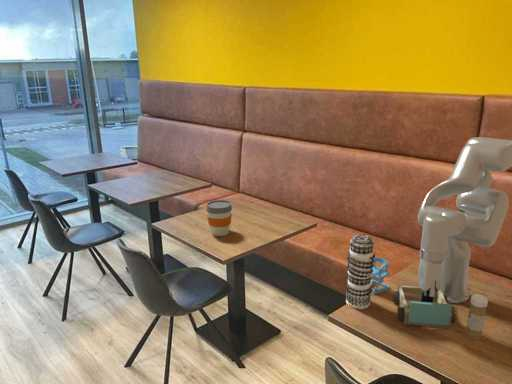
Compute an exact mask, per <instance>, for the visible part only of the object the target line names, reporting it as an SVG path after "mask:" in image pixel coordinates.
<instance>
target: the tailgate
mask: <svg viewBox="0 0 512 384" xmlns="http://www.w3.org/2000/svg"><path fill="white" fill-rule="evenodd" d="M451 311H452V303H447V304H441V303H428V302H415V301H410V310H409V319H408V320H407V321H406V323H407V324H410V326H418V325H421V326H420V327H430V326H433V327H432V328H442V327H445V328H446V329H451V326H450V324H449V321H450V314H451ZM407 324H406V325H407ZM445 328H444V329H445Z"/></svg>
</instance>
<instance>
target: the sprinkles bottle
mask: <svg viewBox="0 0 512 384" xmlns="http://www.w3.org/2000/svg"><path fill="white" fill-rule="evenodd" d="M469 302H470V307H469V311H468V317H467V323H466V328H465V329H466V330H465V336H467V338H469V339H470V340H471V339H472V340H476V341H478V340H481V339H482V337H483V336H482V335H483V329H484V324H485V318H486V312H487V311H486V310H487V307H488V303H489V300H488V298H487V297H486V296H484V295H482V294H477V293H476V294H473V295H471V297H470V301H469Z"/></svg>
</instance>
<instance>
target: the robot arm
mask: <svg viewBox="0 0 512 384" xmlns="http://www.w3.org/2000/svg"><path fill="white" fill-rule="evenodd" d="M511 167H512V140H511V139H503V138H493V137H484V136H483V137H482V136H477V137H471V138H469V139H468V140H467V141H466V144H465V145H464V146H463V147H462V148H461V151H460V154H459V155H458V158H457V160H456V162H455V164H454V166H453V169H452V171H451V173H450V176H449V178H447V179H446V180H444V181H442V182H440V183H439V184H437V185H435V186H434V187H433V188H432V189H430V190H429V192H427V194H426V195H425V197H424V198H423V201H422V204H421V205H420V208H419V211H418V214H417V221H418V224H419V225H420V226H421V227H422V234H421V240H420V249H419V250H420V251H419V258H420V260H419V264H418V271H417V281H418V283H419V287H421V289H422V292H424V293H422V296H421V302H428V303H433V297H434V292H435V290H436V292H438V291H439V288H440V290H441V292H442V294H443V295H446V296H447V300H448V303H449V304H463V303H466V302H467V301H468V300H469V299H470V293H469V291H468V290H467V289H466V286H467V279H468V273H469V267H470V261H471V260H470V259H471V255H472V252H471V248H470V246H469V243H471V244H473V245H477V246H481V247H484V248H485V247H492V246H493V245H495V244H496V243H495V242H496V241H497V238H499V237H498V236H499V234H500V231H501V228H502V227H503V223H504V221H505V218H506V215H507V213H508V209H509V204H510V200H509V199H510V198H509V196H508V194H507V193H506V192H504V191H502V190H499V189H494V188H490V187H491V184H492V183H493V175H492V173H491V172H496V173H503V172H506V171H508V170H509V169H510V168H511ZM451 196H456V198H455V199H456V200H455V206H456V207H457V209H459V210H453V209H450V208H445V207H441V206H436V204H437V203H438V202H439V201H441V200H444V199H445V198H447V197H451Z"/></svg>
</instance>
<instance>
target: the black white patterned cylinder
mask: <svg viewBox="0 0 512 384" xmlns="http://www.w3.org/2000/svg"><path fill="white" fill-rule="evenodd" d="M349 243H350V247H349V250H348V251H347V258H346V259H347V266H346V267H347V274H348V278H347V283H346V292H345V294H346V295H345V303H346V305H347V304H348V305H347V306H349V304H350V306H352V307H354V308H353V309H355V308H359V309H358V310H365V309H367V308H369V307H370V306H371V300H372V299H371V297H372V295H371V294H372V287H373V286H371V280H372V272H373V269H372V268H373V267H374V259H373V258H376V254H375V252H374V245H375V243H376V242H375V240H373V239H372V237H371V236H369V235H366V234H356V235H354V236H353V237H351V238H350V239H349ZM369 305H370V306H369ZM350 306H349V307H350ZM368 306H369V307H368ZM352 307H351V308H352ZM364 308H365V309H364Z"/></svg>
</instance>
